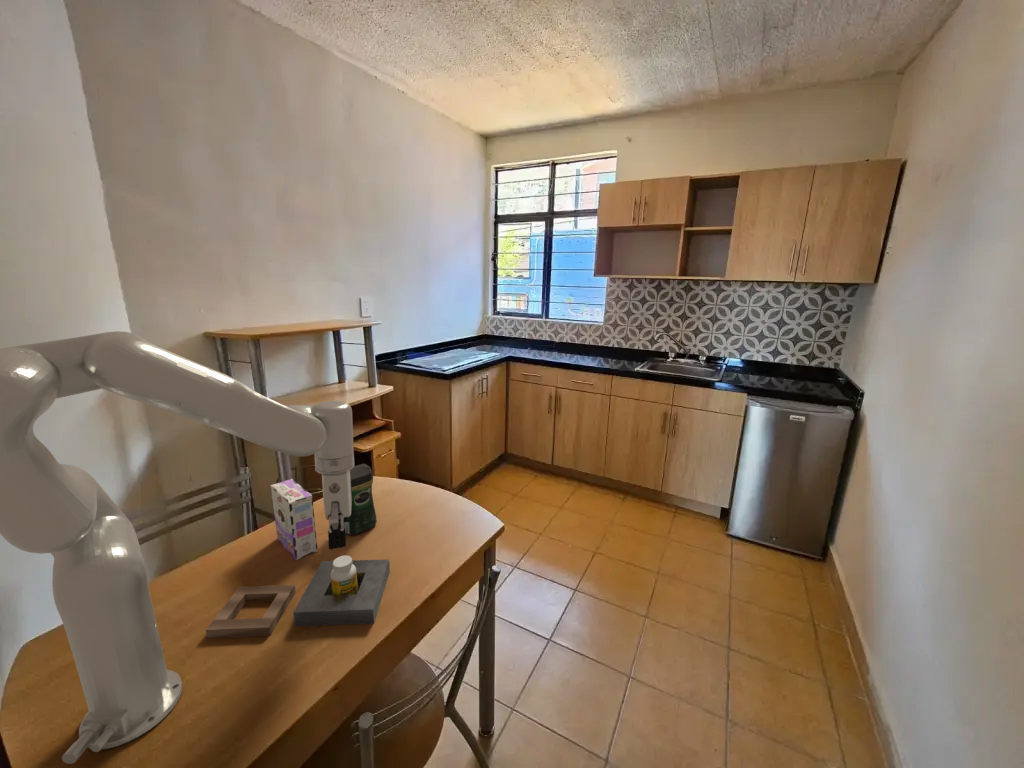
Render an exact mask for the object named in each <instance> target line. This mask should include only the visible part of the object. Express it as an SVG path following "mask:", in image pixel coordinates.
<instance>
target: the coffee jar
mask: <svg viewBox="0 0 1024 768" xmlns="http://www.w3.org/2000/svg"><path fill="white" fill-rule="evenodd" d="M350 478H351V496H352V506H351V515H350V517H347V522H344V528H345V534H346V535H350V536H355V535H357V534H360V533H364V532H365V531H368V530H370V529H371V528H373V527H374V526H376V524H377V522H378V521H377V513H376V509H375V503H374V497H373V483H374V475H373V471H372V468H371V467H370V466H369V465H368V464H366V463H362V464H358V465H354V467H353V468H352V469H351V470H350ZM340 524H341V523H340Z"/></svg>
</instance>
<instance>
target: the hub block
mask: <svg viewBox="0 0 1024 768" xmlns="http://www.w3.org/2000/svg"><path fill="white" fill-rule="evenodd" d="M333 561H334V560H329V561H328V560H324V561H321V562H320V564H319V566H318V568H316V571H315V573H314V575H313V576H312V578H311V580H310V581H309V584H308V585H307V587H306V589H305V590H304V593H303V595H302V596H301V597H300V600H299V601H298V603H297V605H296V606H295V609H294V610H293V613H292V614H293V619H294V620H293V622H294V627H296V628H297V627H317V626H318V627H319V626H321V627H322V626H344V625H345V626H346V625H362V624H363V625H365V624H367V625H369V624H375V622H376V618H377V616H378V612H379V609H380V605H381V603H382V599H383V596H384V593H385V590H386V589H385V588H386V586H387V582H388V579H389V575H390V572H391V570H390V566H391V565H390V559H389V558H388V559H361V560H357V559H356V560H353V559H352V564H353V565H354V566H355V567H356V572H357V585H358V586H359V587H358V593H357V594H353V595H333V594H332V585H331V571H332V570H333ZM383 592H384V593H383Z"/></svg>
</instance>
